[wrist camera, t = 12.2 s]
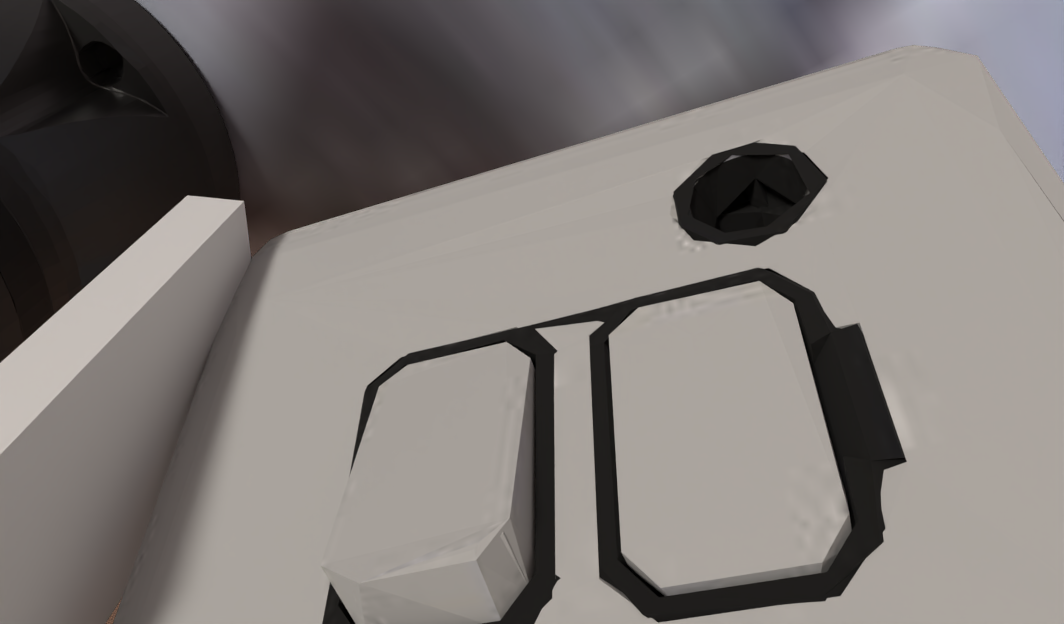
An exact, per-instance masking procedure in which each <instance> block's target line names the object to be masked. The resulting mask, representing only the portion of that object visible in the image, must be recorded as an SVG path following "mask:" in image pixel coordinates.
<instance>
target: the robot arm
mask: <svg viewBox="0 0 1064 624" xmlns="http://www.w3.org/2000/svg"><path fill="white" fill-rule="evenodd" d="M251 260H252V259H251V251H250V243H249V236H248V228H247V220H246V212H245V204H244V201H240V197H239V182H238V174H237V168H236V163H235V157H234V154H233V150H232V146H231V142H230V139H229V136H228V133H227V131H226V128H225V125H224V122H223V120H222V118H221V115H220V113H219V111H218V108H217V106H216V104H215V102H214V100H213V98H212V96H211V94H210V93H209V91H208V89H207V87H206V86H205V84H204V82H203V80H202V79H201V77H200V76H199V74H198V73H197V71H196V70H195V68H194V66H193V65H192V63H191V62H190V61H189V59H188V58H187V57H186V55H185V54H184V53H183V51H182V50H181V49H180V47H179V46H178V45H177V44H176V43H175V41H174V40H173V39H172V38H171V37H170V35H169V34H168V33H167V32H166V31H165V30H164V29H163V28H162V27H161V26H160V25H159V24H158V22H157V21H156V20H155V19H154V18H153V17H152V16H151V15H149V14H148V13H147V12H146V11H145V10H144V9H143V8H142V7H141V6H140V5H139V4H138V3H136V2H135V1H134V0H0V624H105V623H106V622H107V620H108V619H109V617H110V616H111V614H112V612H113V611H114V609H115V608H116V606H117V605H118V603H119V601H120V600H121V598H122V597H123V594H124V591H125V589H126V586H127V583H128V580H129V577H130V575H131V572H132V569H133V566H134V563H135V560H136V558H137V555H138V552H139V549H140V546H141V544H142V541H143V538H144V535H145V532H146V530H147V527H148V524H149V521H150V518H151V516H152V513H153V510H154V507H155V504H156V502H157V499H158V496H159V493H160V490H161V487H162V485H163V482H164V479H165V476H166V473H167V471H168V468H169V465H170V462H171V459H172V457H173V454H174V451H175V448H176V445H177V443H178V440H179V437H180V434H181V431H182V428H183V426H184V423H185V420H186V417H187V414H188V412H189V409H190V406H191V403H192V400H193V398H194V395H195V392H196V389H197V386H198V384H199V381H200V378H201V375H202V372H203V370H204V367H205V364H206V361H207V358H208V355H209V353H210V350H211V347H212V344H213V341H214V339H215V336H216V334H217V332H218V330H219V327H220V325H221V323H222V321H223V319H224V316H225V314H226V312H227V310H228V308H229V306H230V303H231V301H232V299H233V297H234V295H235V292H236V290H237V288H238V286H239V284H240V282H241V280H242V278H243V276H244V274H245V272H246V270H247V268H248V266H249V264H250V262H251Z"/></svg>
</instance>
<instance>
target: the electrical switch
mask: <svg viewBox="0 0 1064 624" xmlns="http://www.w3.org/2000/svg"><path fill="white" fill-rule="evenodd" d="M251 259H252V260H251V262H250V264H249V266H248V268H247V270H246V272H245V274H244V276H243V278H242V280H241V282H240V284H239V286H238V288H237V290H236V292H235V295H234V297H233V299H232V301H231V303H230V306H229V308H228V310H227V312H226V314H225V316H224V319H223V321H222V323H221V325H220V327H219V330H218V332H217V334H216V336H215V339H214V341H213V344H212V347H211V350H210V353H209V355H208V358H207V361H206V364H205V367H204V370H203V372H202V375H201V378H200V381H199V384H198V386H197V389H196V392H195V395H194V398H193V400H192V403H191V406H190V409H189V412H188V414H187V417H186V420H185V423H184V426H183V428H182V431H181V434H180V437H179V440H178V443H177V445H176V448H175V451H174V454H173V457H172V459H171V462H170V465H169V468H168V471H167V473H166V476H165V479H164V482H163V485H162V487H161V490H160V493H159V496H158V499H157V502H156V504H155V507H154V510H153V513H152V516H151V518H150V521H149V524H148V527H147V530H146V532H145V535H144V538H143V541H142V544H141V546H140V549H139V552H138V555H137V558H136V560H135V563H134V566H133V569H132V572H131V575H130V577H129V580H128V583H127V586H126V589H125V591H124V594H123V597H122V600H121V603H120V605H119V608H118V611H117V614H116V617H115V619H114V622H113V624H1064V183H1063V182H1062V180H1061V179H1060V177H1059V176H1058V174H1057V173H1056V171H1055V170H1054V168H1053V167H1052V165H1051V164H1050V162H1049V161H1048V160H1047V158H1046V157H1045V155H1044V154H1043V152H1042V151H1041V149H1040V148H1039V146H1038V145H1037V143H1036V142H1035V140H1034V139H1033V137H1032V136H1031V134H1030V133H1029V131H1028V130H1027V128H1026V127H1025V126H1024V124H1023V123H1022V121H1021V120H1020V118H1019V117H1018V115H1017V114H1016V112H1015V111H1014V109H1013V108H1012V106H1011V105H1010V103H1009V102H1008V100H1007V99H1006V97H1005V96H1004V94H1003V93H1002V92H1001V90H1000V89H999V87H998V86H997V84H996V83H995V81H994V80H993V78H992V77H991V75H990V74H989V72H988V71H987V69H986V68H985V66H984V65H983V63H982V62H981V60H980V59H979V58H978V56H976V55H971V54H966V53H962V52H957V51H952V50H947V49H942V48H937V47H927V46H917V45H912V46H906V47H901V48H896V49H892V50H889V51H886V52H882V53H879V54H876V55H872V56H869V57H866V58H862V59H859V60H856V61H852V62H849V63H846V64H842V65H839V66H836V67H832V68H829V69H826V70H822V71H819V72H816V73H813V74H809V75H806V76H803V77H799V78H796V79H793V80H789V81H786V82H783V83H779V84H776V85H773V86H769V87H766V88H763V89H759V90H756V91H753V92H749V93H746V94H743V95H739V96H736V97H733V98H729V99H726V100H723V101H720V102H716V103H713V104H710V105H706V106H703V107H700V108H696V109H693V110H690V111H686V112H683V113H680V114H676V115H673V116H670V117H666V118H663V119H660V120H656V121H653V122H650V123H646V124H643V125H640V126H636V127H633V128H630V129H627V130H623V131H620V132H617V133H613V134H610V135H607V136H603V137H600V138H597V139H593V140H590V141H587V142H583V143H580V144H577V145H573V146H570V147H567V148H563V149H560V150H557V151H553V152H550V153H547V154H543V155H540V156H537V157H533V158H530V159H527V160H524V161H520V162H517V163H514V164H510V165H507V166H504V167H500V168H497V169H494V170H490V171H487V172H484V173H480V174H477V175H474V176H470V177H467V178H464V179H460V180H457V181H454V182H450V183H447V184H444V185H440V186H437V187H434V188H431V189H427V190H424V191H421V192H417V193H414V194H411V195H407V196H404V197H401V198H397V199H394V200H391V201H387V202H384V203H381V204H377V205H374V206H371V207H367V208H364V209H361V210H357V211H354V212H351V213H347V214H344V215H341V216H338V217H334V218H331V219H328V220H324V221H321V222H318V223H314V224H311V225H308V226H304V227H301V228H298V229H294V230H291V231H288V232H286V233H283V234H281V235H279V236H277V237H275V238H273V239H271V240H269V241H268V242H267V243H266V244H265V245H264V246H263V247H262V248H261V249H260V250H259V251H258V252H257V253H256V254H255V255H254V256H253V257H252V258H251Z"/></svg>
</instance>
